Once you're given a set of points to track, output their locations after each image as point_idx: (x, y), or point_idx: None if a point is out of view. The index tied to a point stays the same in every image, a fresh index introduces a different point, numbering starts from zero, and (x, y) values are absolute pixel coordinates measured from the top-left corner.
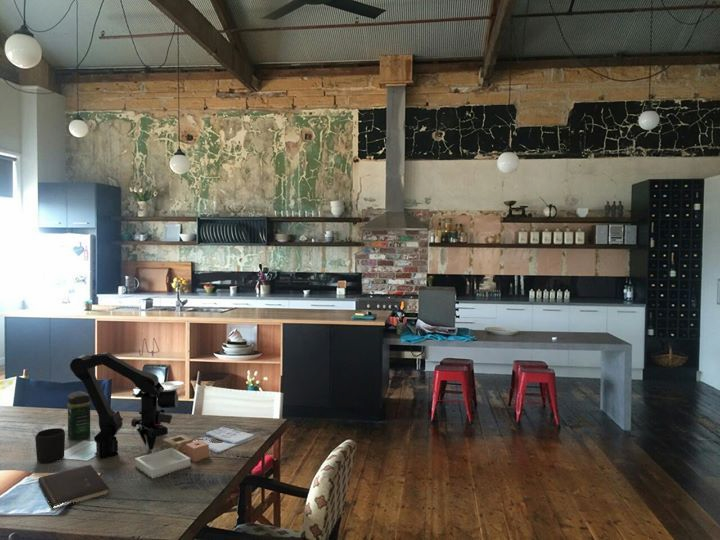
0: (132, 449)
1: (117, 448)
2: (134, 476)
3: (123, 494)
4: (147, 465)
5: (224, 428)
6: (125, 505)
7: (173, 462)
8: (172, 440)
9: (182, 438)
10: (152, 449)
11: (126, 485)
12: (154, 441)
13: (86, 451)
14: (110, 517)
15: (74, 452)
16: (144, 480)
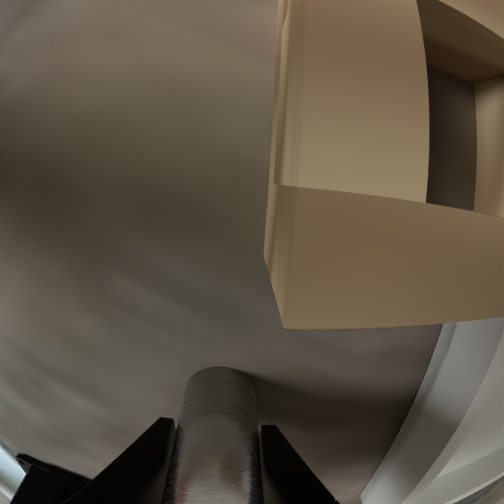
0: (48, 411)
1: (63, 493)
2: None
3: (471, 497)
4: (490, 481)
5: None
6: (499, 486)
7: None
8: (485, 214)
9: (473, 26)
10: (251, 408)
11: None
12: (329, 502)
13: (10, 479)
14: (493, 499)
15: (10, 489)
16: None
